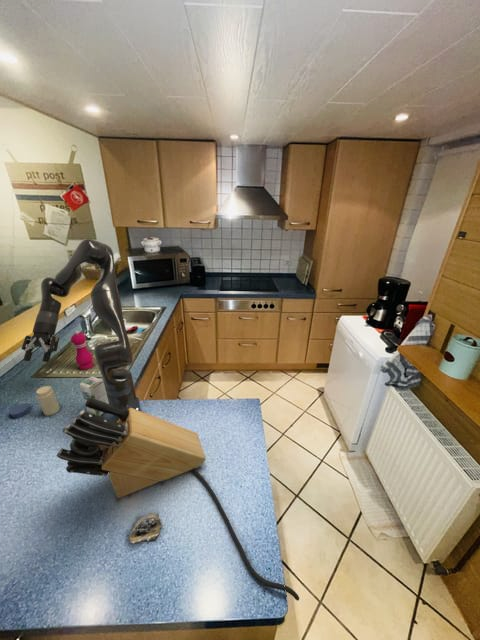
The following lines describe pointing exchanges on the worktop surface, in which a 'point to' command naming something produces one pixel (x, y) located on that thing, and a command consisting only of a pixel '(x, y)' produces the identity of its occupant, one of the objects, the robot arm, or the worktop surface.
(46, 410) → the jar
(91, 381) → the syrup box
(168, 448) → the knife block
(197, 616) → the worktop surface
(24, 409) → the lid
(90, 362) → the pepper mill
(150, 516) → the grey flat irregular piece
